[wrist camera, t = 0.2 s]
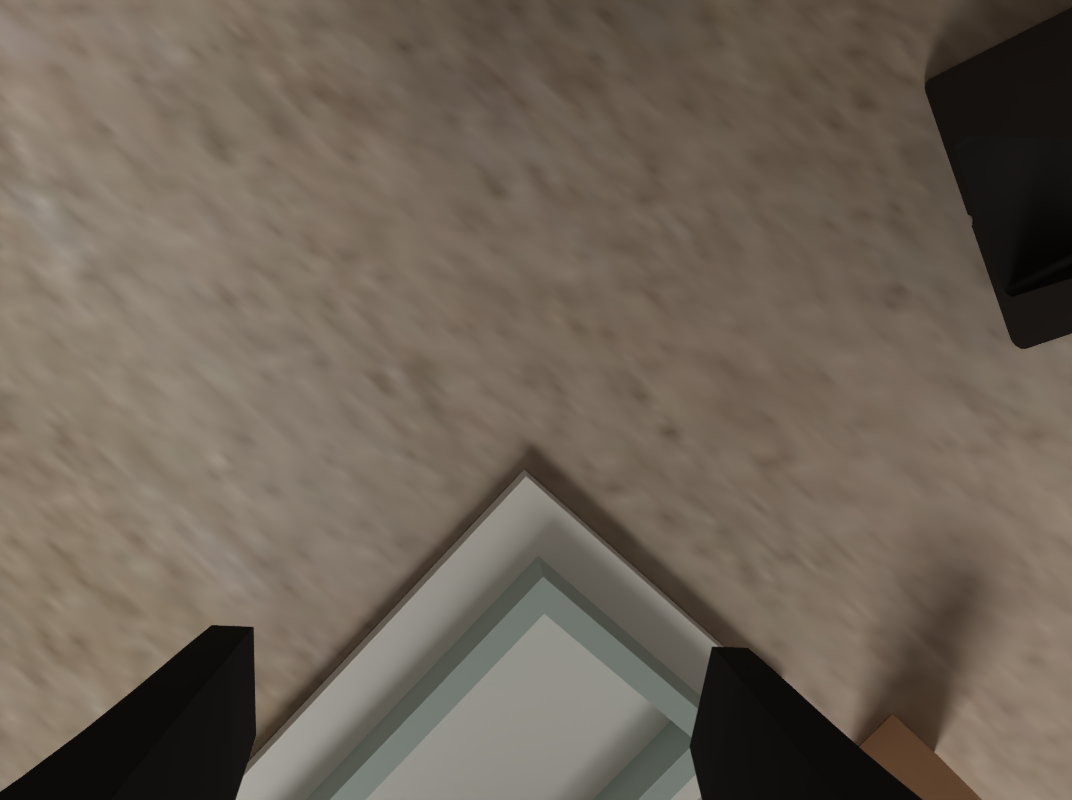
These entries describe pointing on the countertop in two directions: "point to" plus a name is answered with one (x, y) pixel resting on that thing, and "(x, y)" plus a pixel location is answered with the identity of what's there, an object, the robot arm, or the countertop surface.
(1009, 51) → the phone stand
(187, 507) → the countertop surface
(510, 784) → the cradle
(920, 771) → the tan square block
